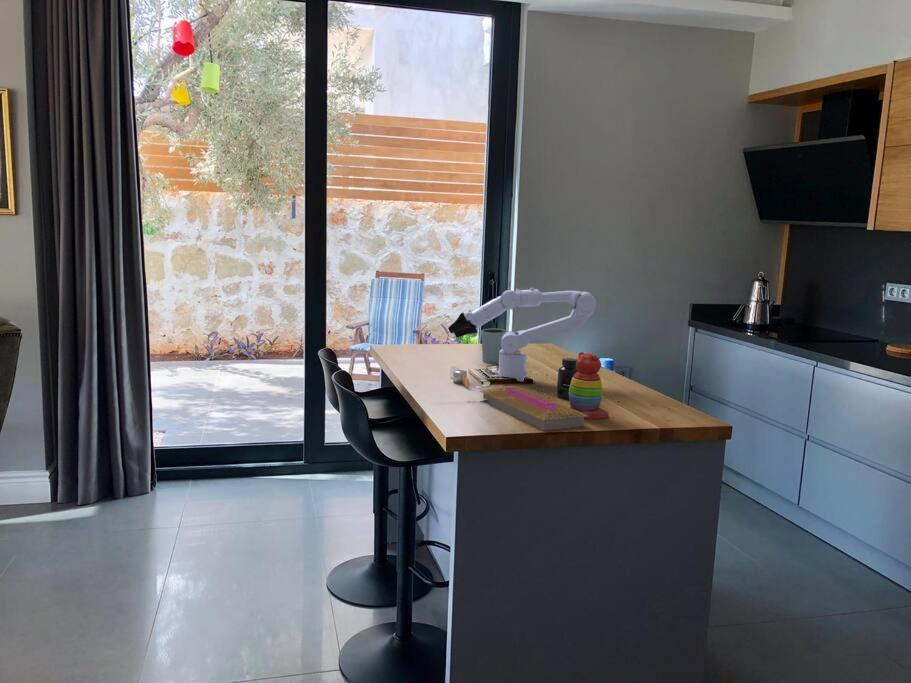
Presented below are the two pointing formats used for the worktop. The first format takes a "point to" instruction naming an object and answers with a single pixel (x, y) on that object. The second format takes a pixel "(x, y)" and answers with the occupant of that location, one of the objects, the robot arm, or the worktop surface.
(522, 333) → the robot arm
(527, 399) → the rafter model
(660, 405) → the worktop surface
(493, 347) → the grey cylinder
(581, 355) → the stacking bear
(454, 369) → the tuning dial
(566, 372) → the supplement bottle
